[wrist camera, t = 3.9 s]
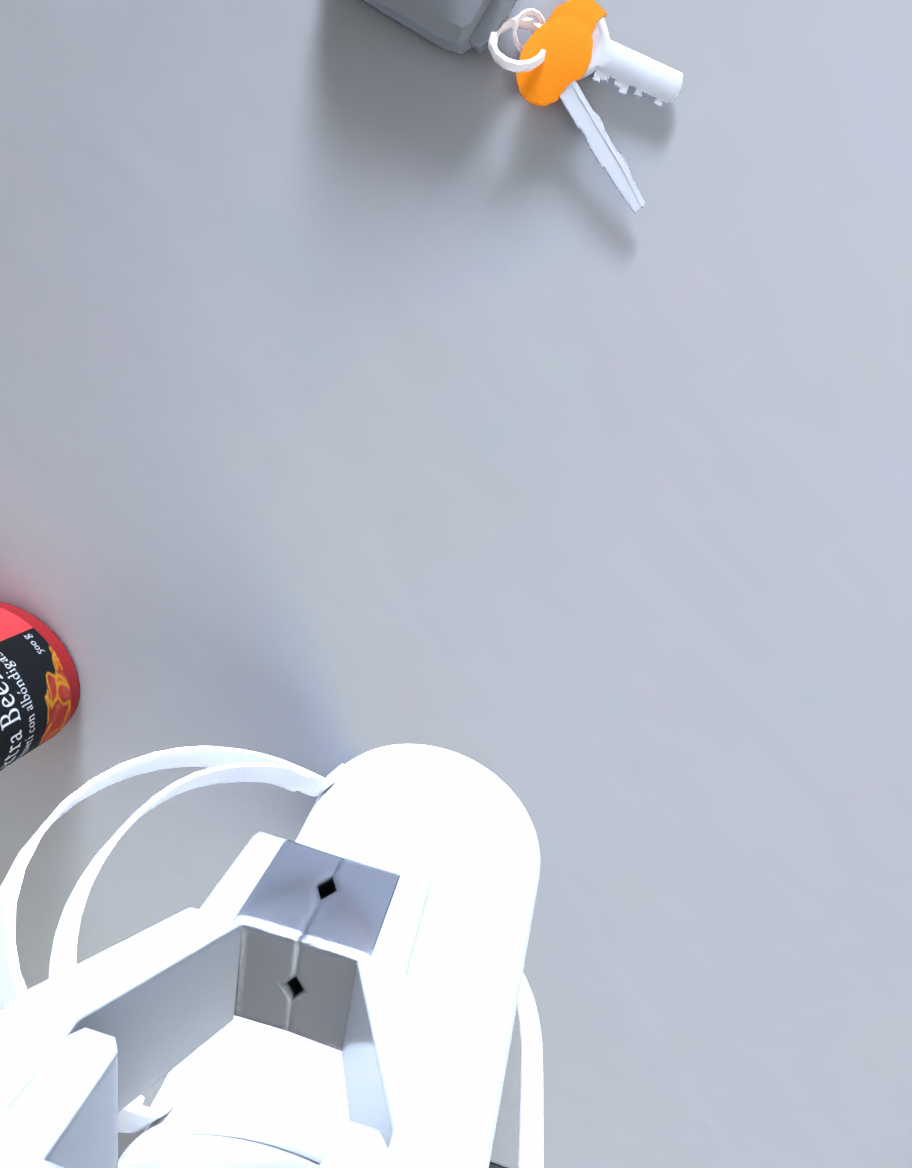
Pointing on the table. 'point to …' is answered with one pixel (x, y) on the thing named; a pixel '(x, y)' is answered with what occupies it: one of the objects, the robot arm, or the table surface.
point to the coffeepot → (441, 969)
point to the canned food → (32, 684)
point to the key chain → (548, 60)
